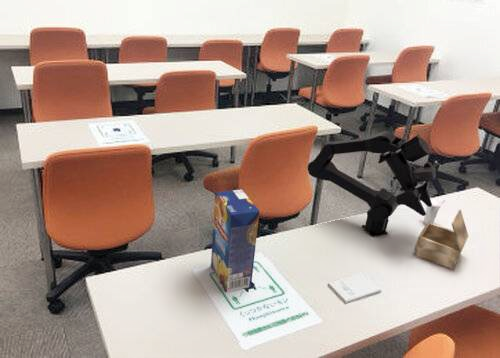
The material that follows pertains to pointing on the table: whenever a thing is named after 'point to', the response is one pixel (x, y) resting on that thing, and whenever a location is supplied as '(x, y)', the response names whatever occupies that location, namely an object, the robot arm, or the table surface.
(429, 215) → the milkshake
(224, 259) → the juice carton
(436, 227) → the carton
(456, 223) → the flap
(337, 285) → the external hard drive
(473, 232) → the table surface
